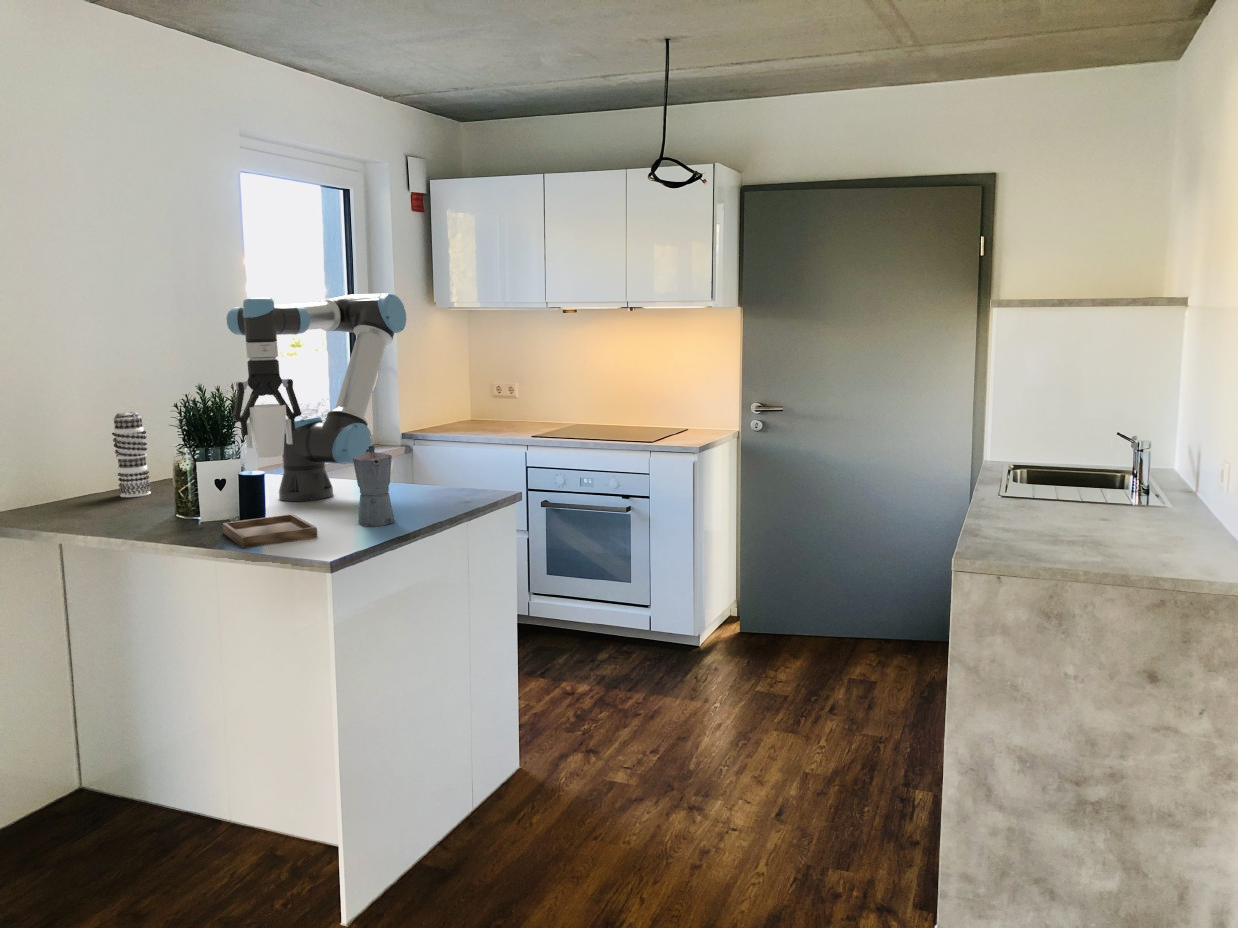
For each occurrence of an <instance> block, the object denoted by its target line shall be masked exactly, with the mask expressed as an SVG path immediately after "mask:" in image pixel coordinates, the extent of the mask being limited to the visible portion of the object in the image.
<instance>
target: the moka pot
mask: <svg viewBox="0 0 1238 928" xmlns="http://www.w3.org/2000/svg"><path fill="white" fill-rule="evenodd" d="M368 448H369V450H368V449H367V450H366V452H365V454H362V455H358V456H356V457H355V458H353V462H354V463H353V467H354V472H355V477H356V482H357V486H358V488H359V494H360V496H359V505H358V519H357V523H358V524H359V525H360V526H363V527H382V526H387V525H390V524H392V523H394V522H395V516H394V511H393V506H392V502H391V496H390V493H389V491H390V488H389V487H390V484H391V471H392V459H393V458H392V455H391V454H388V453H383V452H377V451H376V452H375V445H371V446H370V447H368Z"/></svg>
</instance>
